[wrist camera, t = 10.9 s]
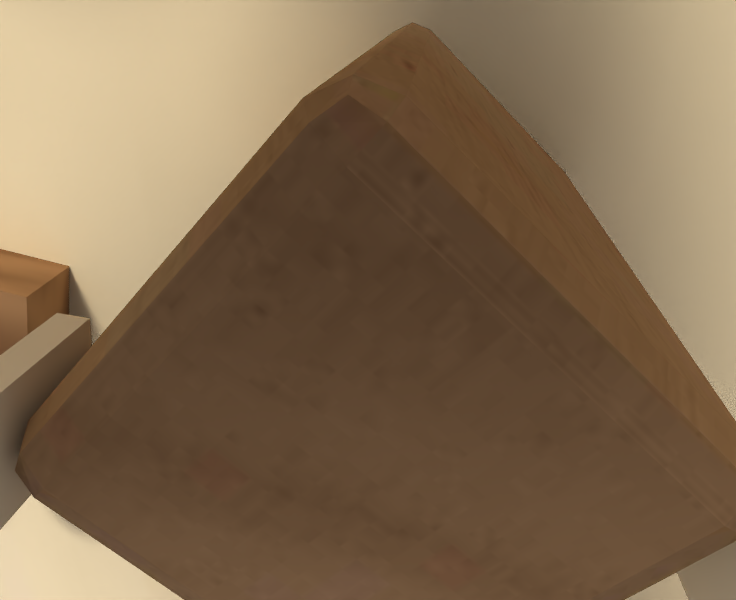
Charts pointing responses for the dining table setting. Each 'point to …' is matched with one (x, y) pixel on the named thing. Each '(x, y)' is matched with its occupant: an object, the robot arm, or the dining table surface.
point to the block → (392, 374)
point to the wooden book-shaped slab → (29, 295)
